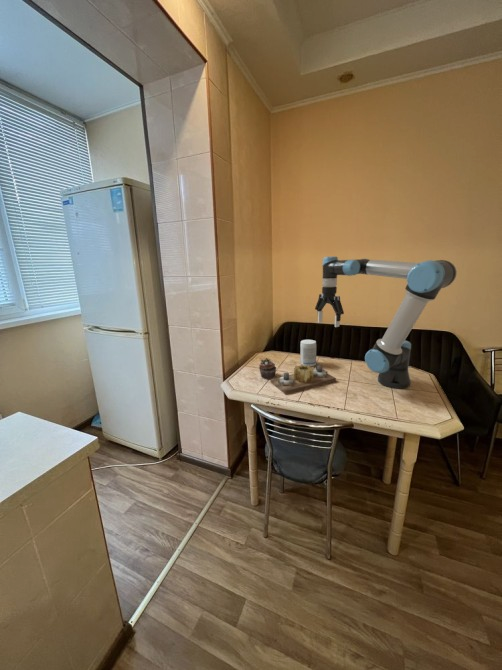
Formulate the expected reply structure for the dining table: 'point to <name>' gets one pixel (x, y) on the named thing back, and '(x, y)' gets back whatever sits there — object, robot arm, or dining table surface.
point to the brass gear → (303, 373)
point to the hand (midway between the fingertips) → (328, 324)
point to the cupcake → (267, 369)
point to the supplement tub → (308, 352)
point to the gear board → (291, 385)
